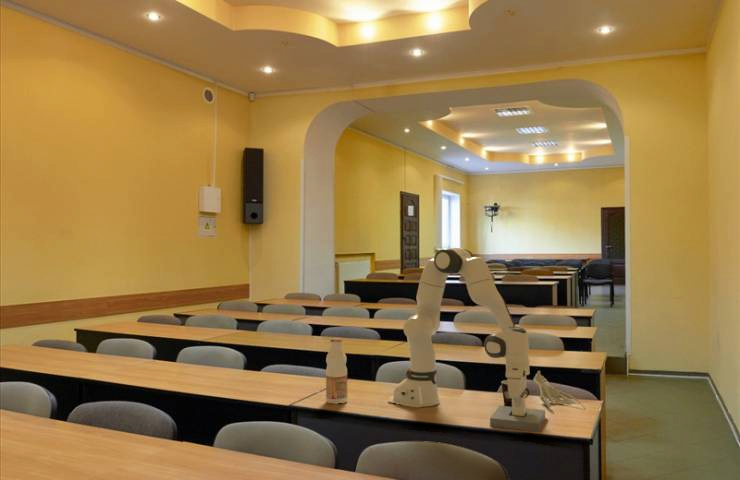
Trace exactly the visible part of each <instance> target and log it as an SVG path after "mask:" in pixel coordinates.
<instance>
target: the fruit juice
mask: <svg viewBox="0 0 740 480" xmlns="http://www.w3.org/2000/svg"><path fill="white" fill-rule="evenodd" d="M342 341H343V339H342V338H341V337H333V338H330V348H329V349H328V353H327V355H326V358H325V362H326V370H325V392H326V394H325V396H326V397H325V398H326V402H329V403H335V404H334V405H339V404H338V403H343V404H345V403H344V402H346V403H347V402H348V368H347V365H346V364H347V355H346V353H345V352H344V349H343V347H342ZM329 403H328V404H329Z"/></svg>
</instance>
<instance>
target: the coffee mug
mask: <svg viewBox="0 0 740 480" xmlns="http://www.w3.org/2000/svg"><path fill="white" fill-rule="evenodd" d="M500 383H501V390H502V397H503V404H504V405H503V406H508V407H512V398H510V397H509V393H508V383H507V379H506V380H505V379H504V380H502V381H501V382H500ZM525 390H526V392H527V394H526V395H525V399H527V398H528V397H529V395H530V391H529V389H528V388H527V387H526V388H525Z"/></svg>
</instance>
